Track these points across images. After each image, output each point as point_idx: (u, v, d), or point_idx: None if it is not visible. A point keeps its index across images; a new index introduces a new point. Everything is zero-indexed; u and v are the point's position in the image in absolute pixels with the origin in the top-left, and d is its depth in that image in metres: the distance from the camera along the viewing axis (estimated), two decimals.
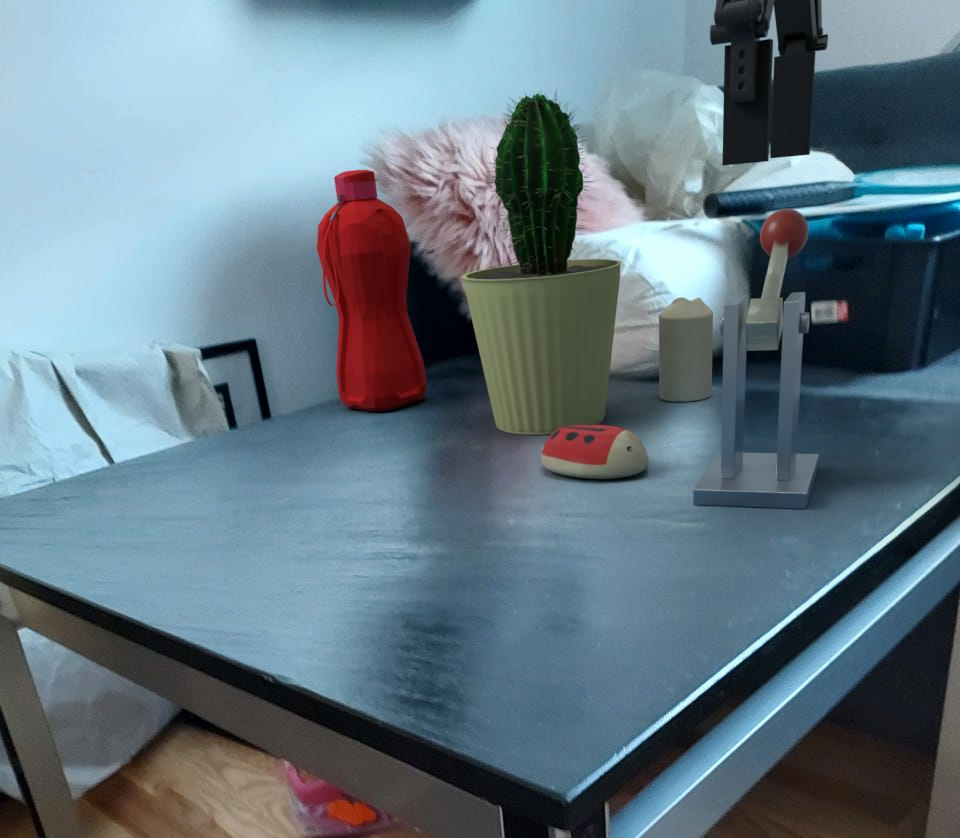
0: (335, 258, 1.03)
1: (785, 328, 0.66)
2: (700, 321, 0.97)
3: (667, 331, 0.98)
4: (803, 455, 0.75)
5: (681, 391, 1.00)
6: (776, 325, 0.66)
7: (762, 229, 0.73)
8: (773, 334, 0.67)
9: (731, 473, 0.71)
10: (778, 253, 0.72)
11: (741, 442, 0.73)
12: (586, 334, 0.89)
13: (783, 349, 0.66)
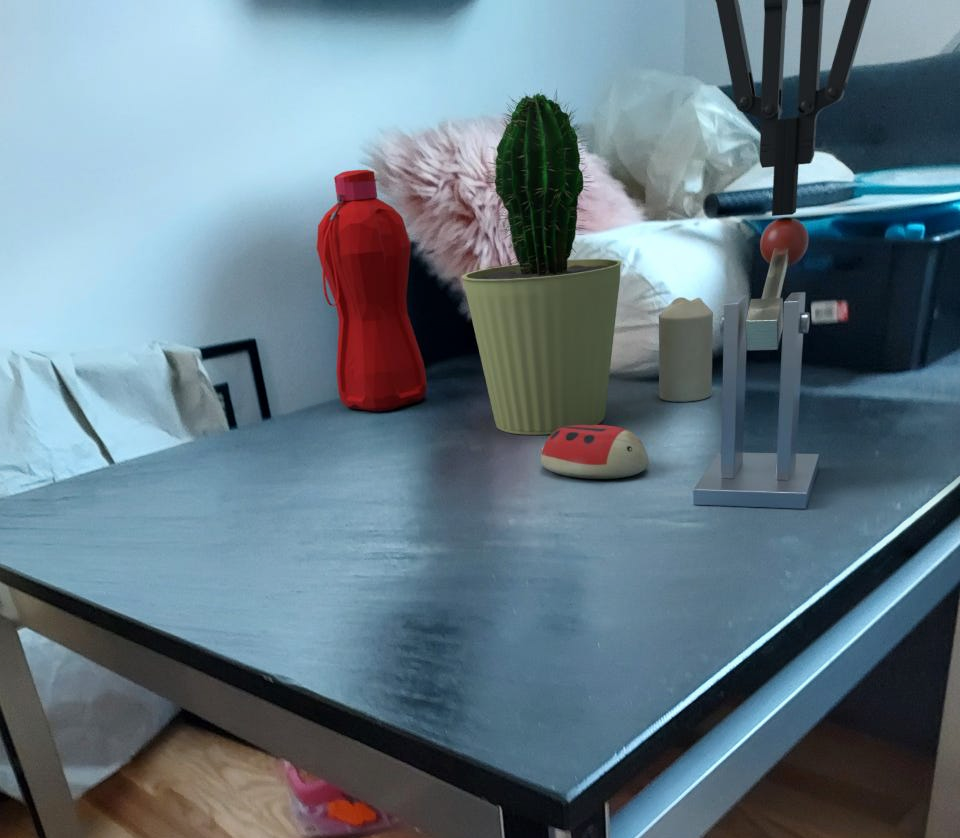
0: (335, 258, 1.03)
1: (785, 328, 0.66)
2: (700, 321, 0.97)
3: (667, 331, 0.98)
4: (803, 455, 0.75)
5: (681, 391, 1.00)
6: (776, 323, 0.66)
7: (762, 237, 0.74)
8: (773, 333, 0.67)
9: (731, 473, 0.71)
10: (778, 259, 0.72)
11: (741, 442, 0.73)
12: (586, 334, 0.89)
13: (783, 349, 0.66)
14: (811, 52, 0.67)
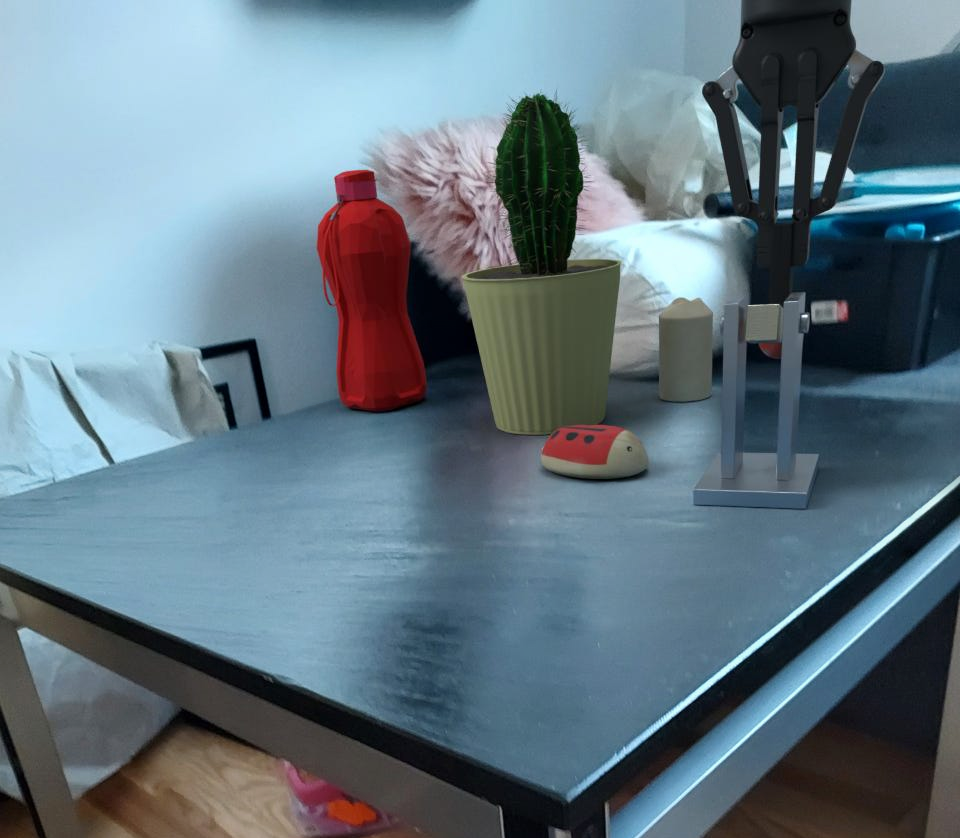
0: (335, 258, 1.03)
1: (785, 328, 0.66)
2: (700, 321, 0.97)
3: (667, 331, 0.98)
4: (803, 455, 0.75)
5: (681, 391, 1.00)
6: (778, 308, 0.66)
7: None
8: (774, 319, 0.66)
9: (731, 473, 0.71)
10: None
11: (741, 442, 0.73)
12: (586, 334, 0.89)
13: (783, 349, 0.66)
14: (805, 165, 0.71)
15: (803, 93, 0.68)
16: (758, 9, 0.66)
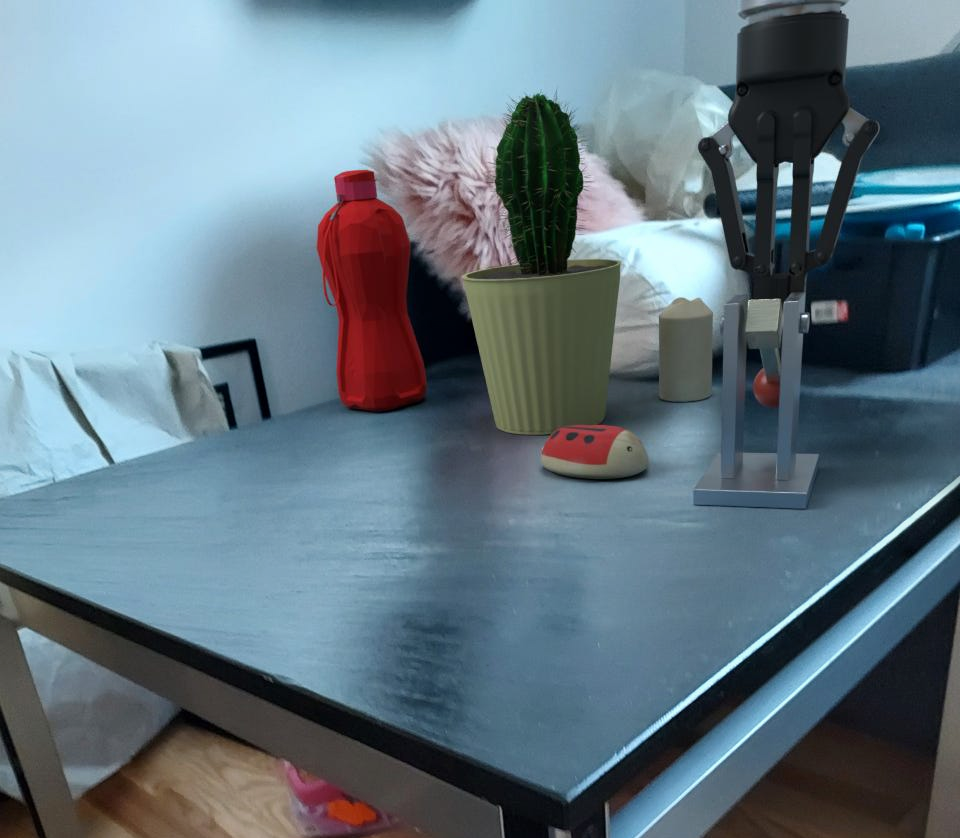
0: (335, 258, 1.03)
1: (785, 328, 0.66)
2: (700, 321, 0.97)
3: (667, 331, 0.98)
4: (803, 455, 0.75)
5: (681, 391, 1.00)
6: (779, 302, 0.66)
7: (757, 374, 0.78)
8: (774, 312, 0.66)
9: (731, 473, 0.71)
10: None
11: (741, 442, 0.73)
12: (586, 334, 0.89)
13: (783, 349, 0.66)
14: (801, 220, 0.71)
15: (798, 150, 0.69)
16: (753, 69, 0.66)
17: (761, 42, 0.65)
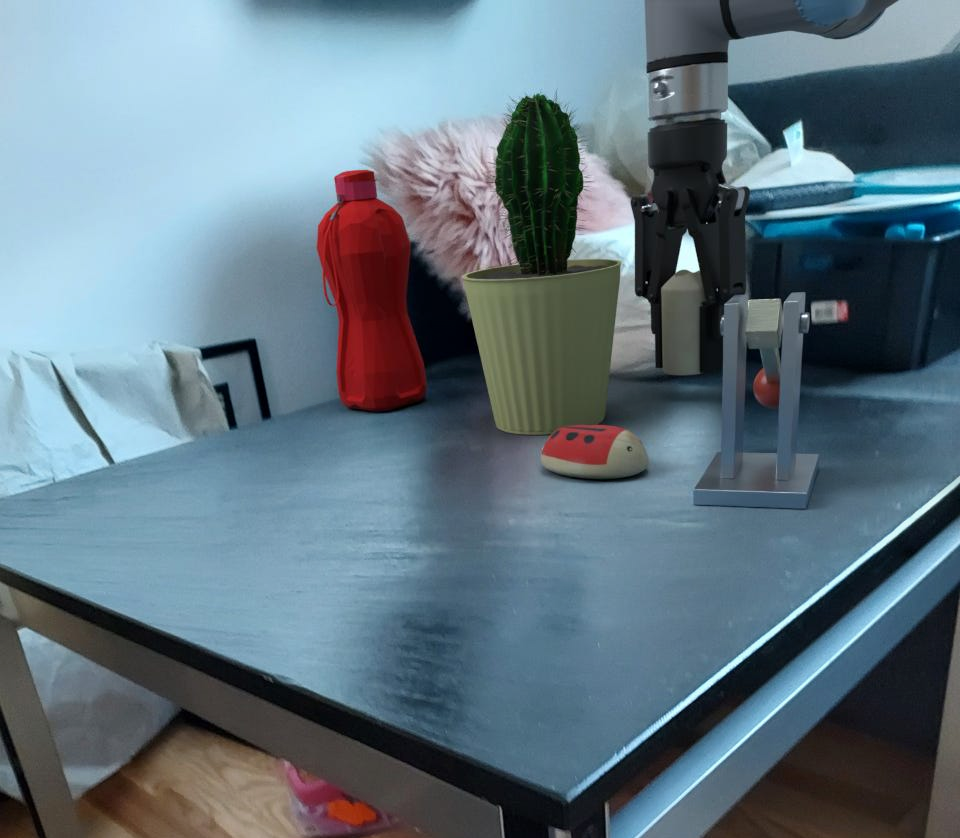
0: (335, 258, 1.03)
1: (785, 328, 0.66)
2: (703, 292, 0.95)
3: (670, 303, 0.97)
4: (803, 455, 0.75)
5: (685, 364, 0.98)
6: (779, 302, 0.66)
7: (757, 374, 0.78)
8: (774, 312, 0.66)
9: (731, 473, 0.71)
10: None
11: (741, 442, 0.73)
12: (586, 334, 0.89)
13: (783, 349, 0.66)
14: None
15: None
16: None
17: None
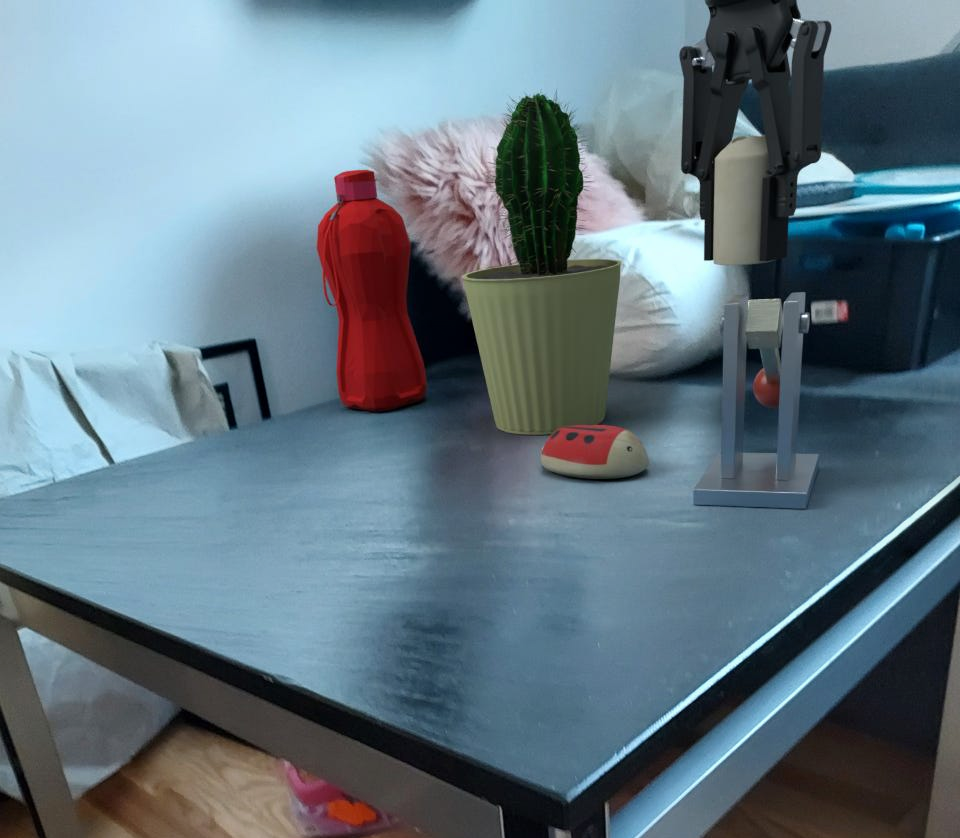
0: (335, 258, 1.03)
1: (785, 328, 0.66)
2: (767, 160, 0.79)
3: (727, 174, 0.80)
4: (803, 455, 0.75)
5: (742, 251, 0.82)
6: (779, 302, 0.66)
7: (757, 374, 0.78)
8: (774, 312, 0.66)
9: (731, 473, 0.71)
10: None
11: (741, 442, 0.73)
12: (586, 334, 0.89)
13: (783, 349, 0.66)
14: None
15: None
16: None
17: None
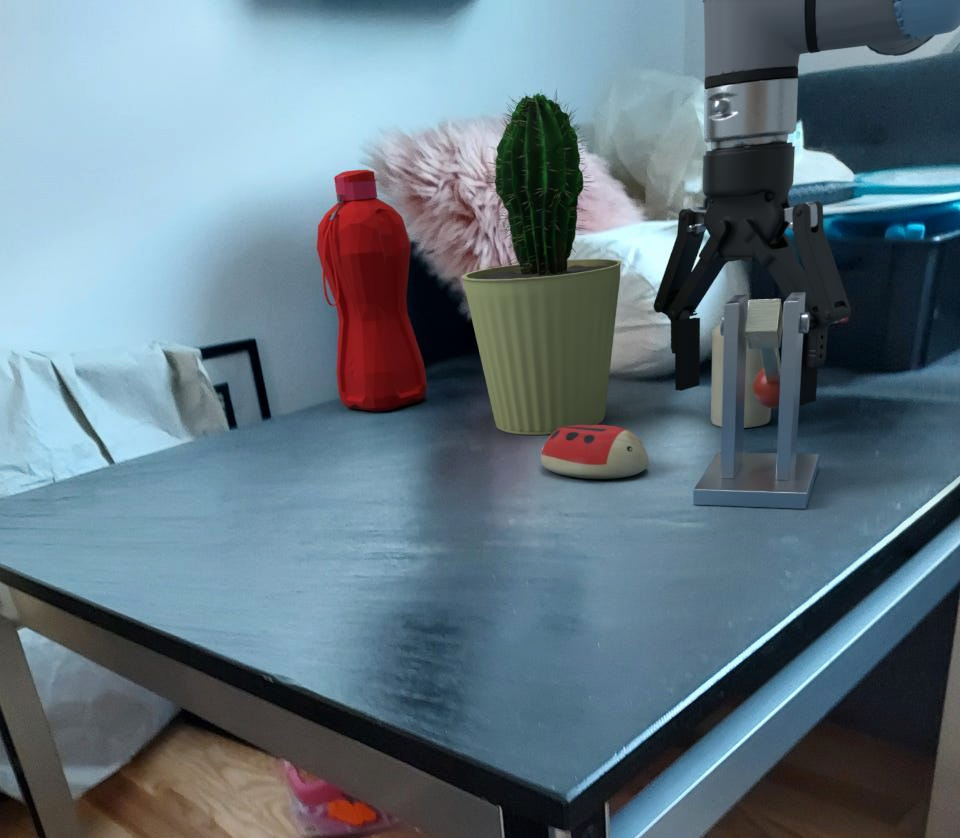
0: (335, 258, 1.03)
1: (785, 328, 0.66)
2: None
3: None
4: (803, 455, 0.75)
5: None
6: (779, 302, 0.66)
7: (757, 374, 0.78)
8: (774, 312, 0.66)
9: (731, 473, 0.71)
10: None
11: (741, 442, 0.73)
12: (586, 334, 0.89)
13: (783, 349, 0.66)
14: None
15: None
16: None
17: None
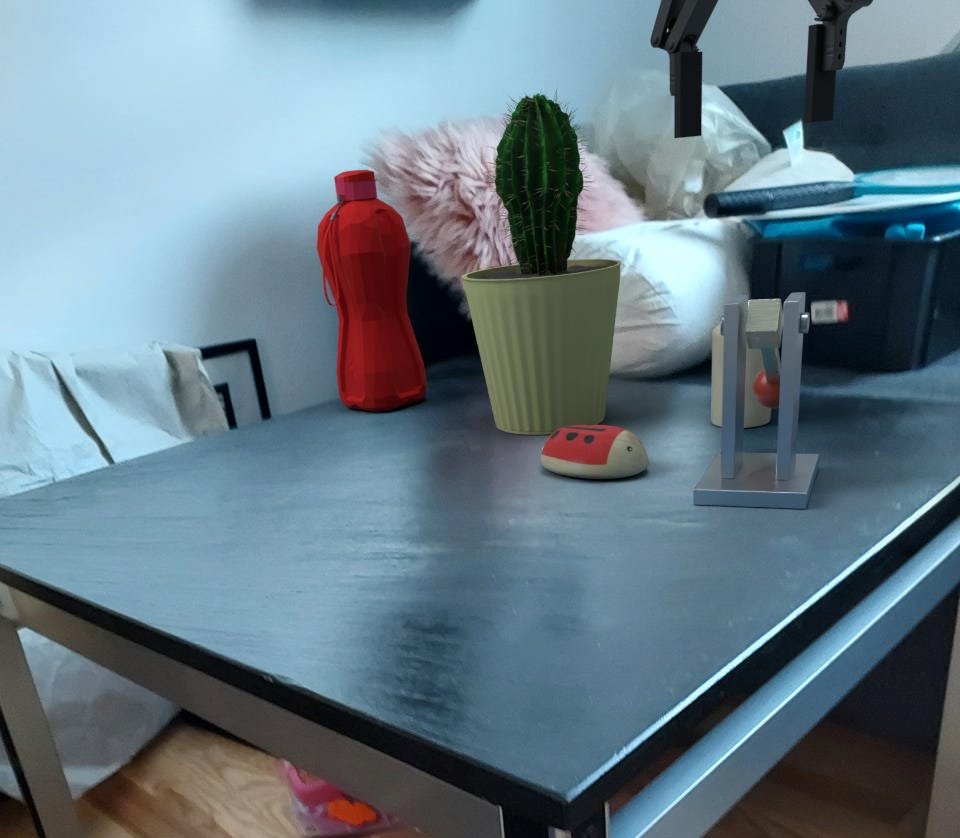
0: (335, 258, 1.03)
1: (785, 328, 0.66)
2: None
3: None
4: (803, 455, 0.75)
5: None
6: (779, 302, 0.66)
7: (757, 374, 0.78)
8: (774, 312, 0.66)
9: (731, 473, 0.71)
10: None
11: (741, 442, 0.73)
12: (586, 334, 0.89)
13: (783, 349, 0.66)
14: None
15: None
16: None
17: None
